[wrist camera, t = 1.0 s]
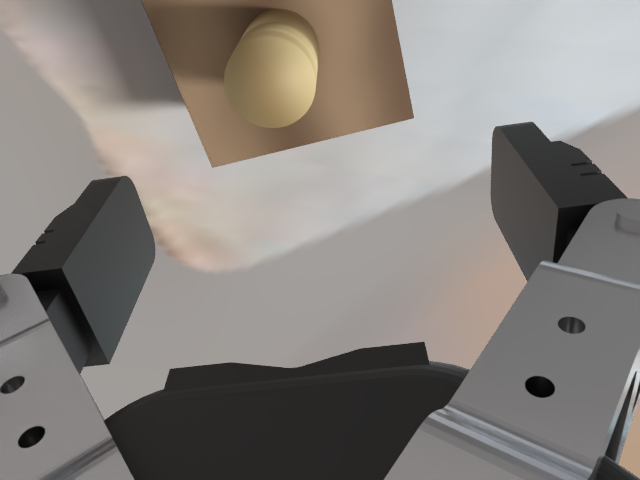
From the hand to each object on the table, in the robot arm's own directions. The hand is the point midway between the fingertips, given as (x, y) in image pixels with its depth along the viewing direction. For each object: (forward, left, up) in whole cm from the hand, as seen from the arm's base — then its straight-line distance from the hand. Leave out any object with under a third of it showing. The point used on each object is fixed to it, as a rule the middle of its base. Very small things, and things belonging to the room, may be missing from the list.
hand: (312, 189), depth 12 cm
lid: (+2, 0, -17) cm, 17 cm away
